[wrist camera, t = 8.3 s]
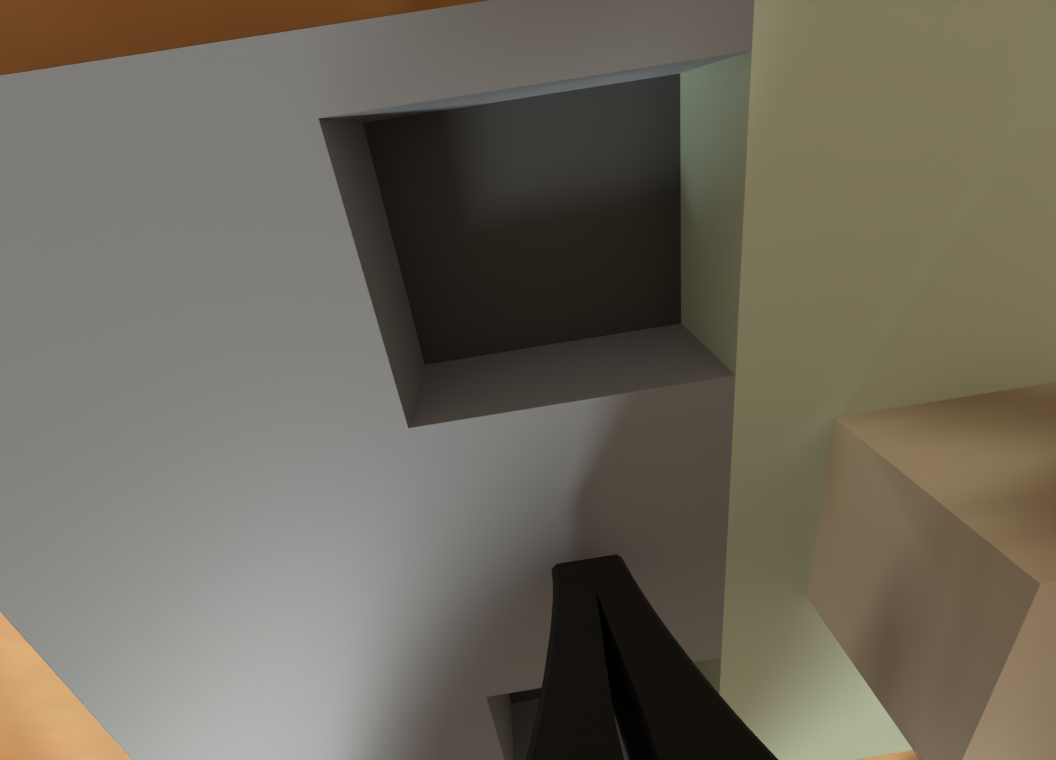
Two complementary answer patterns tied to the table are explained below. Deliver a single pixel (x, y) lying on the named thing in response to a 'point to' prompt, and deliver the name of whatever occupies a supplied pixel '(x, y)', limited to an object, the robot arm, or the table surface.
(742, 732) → the robot arm
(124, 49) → the table surface
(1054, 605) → the block
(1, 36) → the table surface
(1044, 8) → the pad
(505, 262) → the trap deck
